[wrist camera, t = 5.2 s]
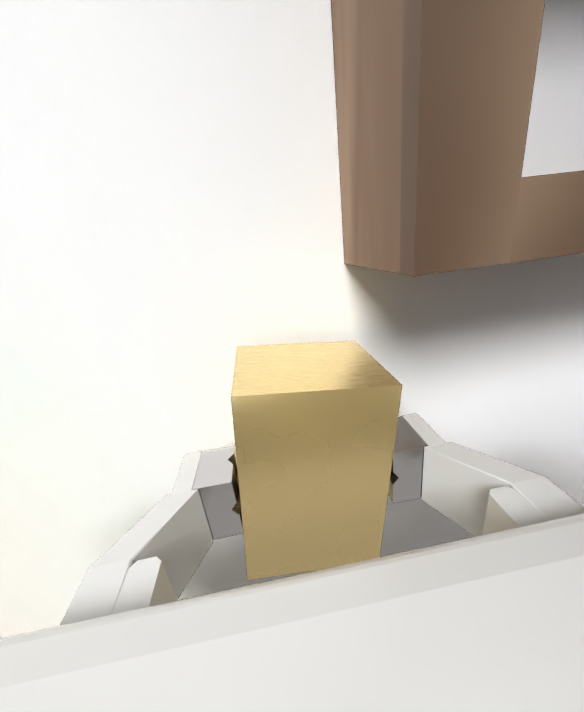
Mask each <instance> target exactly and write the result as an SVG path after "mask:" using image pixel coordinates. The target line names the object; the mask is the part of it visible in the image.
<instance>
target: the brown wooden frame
mask: <svg viewBox="0 0 584 712" xmlns="http://www.w3.org/2000/svg"><path fill="white" fill-rule="evenodd" d="M544 5H545V0H331V12H332V32H333V51H334V70H335V90H336V109H337V129H338V148H339V168H340V187H341V206H342V226H343V245H344V264H350V265H355V266H361V267H366V268H372V269H377V270H383V271H388V272H393V273H399V274H404V275H410V276H420V275H427V274H435V273H442V272H449V271H456V270H463V269H471V268H478V267H485V266H492V265H499V264H507V263H514V262H521V261H528V260H535V259H543V258H550V257H557V256H564V255H571V254H579V253H584V171H575V172H566V173H557V174H548V175H540V176H531V177H522V178H521V175H522V167H523V160H524V153H525V145H526V138H527V131H528V123H529V116H530V108H531V101H532V94H533V86H534V79H535V72H536V64H537V57H538V49H539V42H540V35H541V27H542V20H543V12H544Z"/></svg>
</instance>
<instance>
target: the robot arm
mask: <svg viewBox="0 0 584 712" xmlns="http://www.w3.org/2000/svg"><path fill="white" fill-rule="evenodd" d="M388 495H389V496H390V498H391V500H392V502H393V503H396V502H402V501H408V500H414V499H420V498H422V499H421V500H423V501H424V502H426V503H427V504H429V505H430V506H431V507H433V508H434V509H436V510H437V511H439V512H440V513H442V514H443V515H444V516H446V517H447V518H449V519H450V520H452V521H453V522H455V523H456V524H458V525H459V526H460V527H462V528H463V529H465V530H466V531H468V532H469V533H471V534H472V535H473V536H475V537H472V538H467V539H462V540H458V541H453V542H448V543H444V544H439V545H434V546H430V547H425V548H420V549H415V550H411V551H406V552H401V553H397V554H392V555H387V556H383V557H378V558H373V559H369V560H364V561H359V562H355V563H350V564H345V565H341V566H336V567H332V568H327V569H322V570H318V571H313V572H308V573H304V574H299V575H294V576H290V577H285V578H280V579H276V580H271V581H266V582H262V583H257V584H252V585H248V586H243V587H238V588H234V589H229V590H224V591H220V592H215V593H210V594H206V595H201V596H196V597H192V598H187V599H182V600H178V598H179V597H180V595H181V593H182V592H183V590H184V589H185V587H186V585H187V584H188V582H189V580H190V579H191V577H192V576H193V574H194V572H195V571H196V569H197V568H198V566H199V564H200V563H201V561H202V560H203V558H204V556H205V555H206V553H207V551H208V550H209V548H210V547H211V545H212V543H213V540H215V539H220V538H224V537H228V536H233V535H237V534H241V533H244V530H243V524H242V513H241V502H240V491H239V479H238V468H237V457H236V446H230V447H224V448H218V449H211V450H205V451H199V452H193V453H187V454H186V455H185V456H184V457H183V460H182V464H181V467H180V470H179V473H178V476H177V479H176V483H175V486H174V489H173V492H172V494H169V495H166V496H165V497H164V498H163V499H162V500H161V501H160V502H159V503H158V504H157V505H155V506H154V507H153V508H152V509H151V510H150V511H149V512H148V513H147V514H146V515H145V516H144V517H143V518H142V519H141V520H139V521H138V522H137V523H136V524H135V525H134V526H133V527H132V528H131V529H130V530H129V531H128V532H127V533H126V534H125V535H124V536H122V537H121V538H120V539H119V540H118V541H117V542H116V543H115V544H114V545H113V546H112V547H111V548H110V549H109V550H108V551H106V552H105V553H104V554H103V555H102V556H101V557H100V558H99V559H98V560H97V561H96V562H95V563H94V564H93V565H92V566H90V567H89V568H88V570H87V572H86V574H85V576H84V578H83V580H82V582H81V584H80V586H79V588H78V590H77V592H76V594H75V596H74V598H73V600H72V602H71V604H70V606H69V608H68V610H67V612H66V614H65V616H64V618H63V620H62V622H61V624H60V626H57V627H52V628H47V629H43V630H38V631H33V632H29V633H24V634H19V635H15V636H10V637H5V638H1V639H0V712H584V507H583V506H582V505H580V504H579V503H578V502H577V501H575V500H574V499H573V498H571V497H570V496H569V495H568V494H566V493H565V492H564V491H563V490H561V489H560V488H559V487H558V486H556V485H555V484H554V483H553V482H551V481H550V480H549V479H547V478H546V477H544V476H542V475H539V474H536V473H534V472H531V471H528V470H526V469H523V468H520V467H518V466H515V465H512V464H510V463H507V462H504V461H501V460H499V459H496V458H493V457H491V456H488V455H485V454H483V453H480V452H477V451H475V450H472V449H469V448H467V447H464V446H461V445H459V444H456V443H453V442H448V443H447V442H446V441H445V440H444V439H443V438H442V437H441V436H440V435H439V434H438V433H437V432H436V431H435V430H434V429H433V428H432V427H431V426H430V425H429V424H428V423H427V422H426V421H425V420H424V419H423V418H422V417H421V416H420V415H418V414H416V413H413V414H408V415H403V416H400V417H398V422H397V429H396V437H395V445H394V451H393V460H392V467H391V475H390V483H389V490H388ZM177 600H178V601H177Z"/></svg>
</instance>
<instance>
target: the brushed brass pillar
mask: <svg viewBox="0 0 584 712" xmlns="http://www.w3.org/2000/svg"><path fill="white" fill-rule="evenodd" d="M401 391H402V384H401V383H400V382H399V381H398V380H397V379H395V378H394V377H393V376H392V375H391V374H390V373H389V372H388V371H387V370H386V369H385V368H384V367H383V366H381V365H380V364H379V363H378V362H377V361H376V360H375V359H374V358H373V357H372V356H371V355H370V354H369V353H367V352H366V351H365V350H364V349H363V348H362V347H361V346H360V345H359V344H358V343H357V342H356V341H339V342H319V343H299V344H278V345H258V346H238V347H237V353H236V361H235V369H234V377H233V385H232V393H231V402H232V413H233V424H234V435H235V446H236V457H237V468H238V479H239V491H240V502H241V513H242V524H243V530H244V533H243V535H244V546H245V557H246V568H247V579H248V580H250V579H258V578H265V577H272V576H279V575H286V574H293V573H300V572H308V571H315V570H322V569H327V568H332V567H336V566H341V565H345V564H350V563H355V562H359V561H364V560H369V559H373V558H378V557H380V551H381V543H382V536H383V528H384V520H385V513H386V505H387V498H388V490H389V483H390V475H391V467H392V460H393V451H394V445H395V437H396V429H397V422H398V414H399V407H400V399H401Z"/></svg>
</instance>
